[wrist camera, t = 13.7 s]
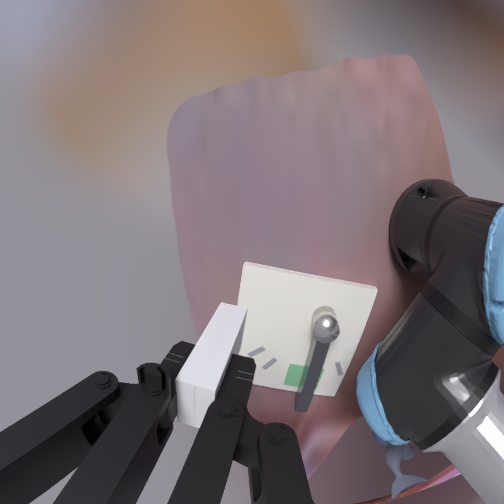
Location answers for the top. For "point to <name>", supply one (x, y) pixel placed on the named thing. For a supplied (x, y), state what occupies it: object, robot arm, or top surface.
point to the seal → (393, 461)
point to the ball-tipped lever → (316, 354)
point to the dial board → (299, 324)
